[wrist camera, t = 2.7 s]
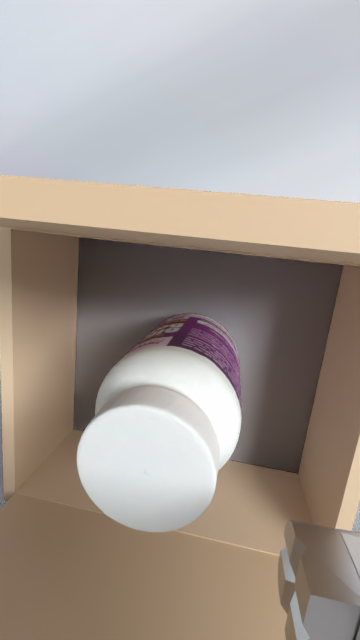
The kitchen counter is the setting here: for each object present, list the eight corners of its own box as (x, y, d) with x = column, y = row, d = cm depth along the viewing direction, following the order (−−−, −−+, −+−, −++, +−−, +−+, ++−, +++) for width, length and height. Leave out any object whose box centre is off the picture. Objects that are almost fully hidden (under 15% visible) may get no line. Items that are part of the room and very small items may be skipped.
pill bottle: (178, 292, 17) (111, 336, 8) (258, 347, 17) (289, 461, 8) (128, 366, 18) (21, 481, 9) (202, 418, 18) (170, 588, 9)
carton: (359, 254, 15) (995, 245, 2) (306, 484, 18) (478, 1018, 5) (69, 225, 17) (-374, 142, 5) (64, 435, 20) (-218, 735, 8)
